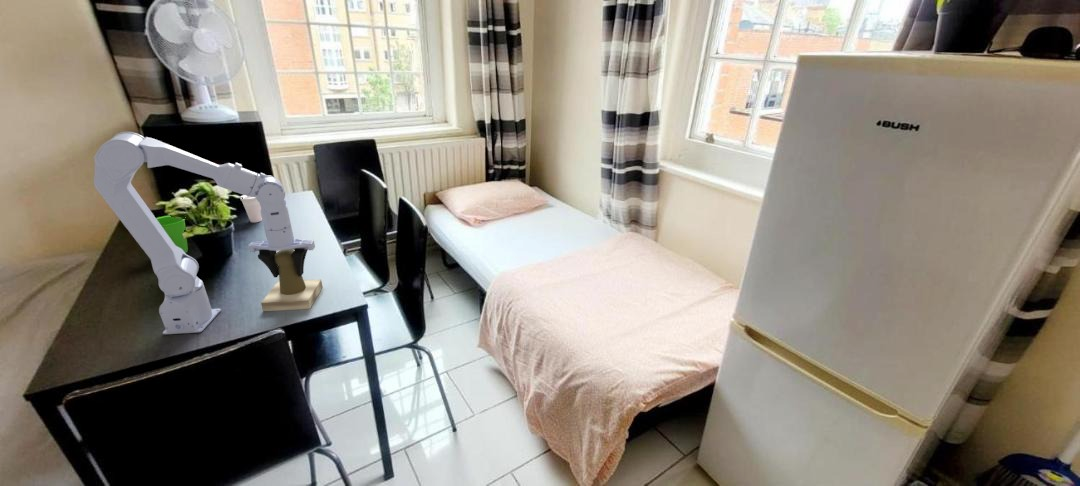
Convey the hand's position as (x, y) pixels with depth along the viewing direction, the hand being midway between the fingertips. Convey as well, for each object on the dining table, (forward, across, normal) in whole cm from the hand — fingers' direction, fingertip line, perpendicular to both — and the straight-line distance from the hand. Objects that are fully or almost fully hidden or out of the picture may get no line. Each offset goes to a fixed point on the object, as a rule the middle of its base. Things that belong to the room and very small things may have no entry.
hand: (288, 275), depth 111 cm
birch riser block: (+7, 0, 0) cm, 7 cm away
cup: (+7, +44, -32) cm, 55 cm away
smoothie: (+7, +32, -59) cm, 68 cm away
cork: (+5, 0, -1) cm, 5 cm away
